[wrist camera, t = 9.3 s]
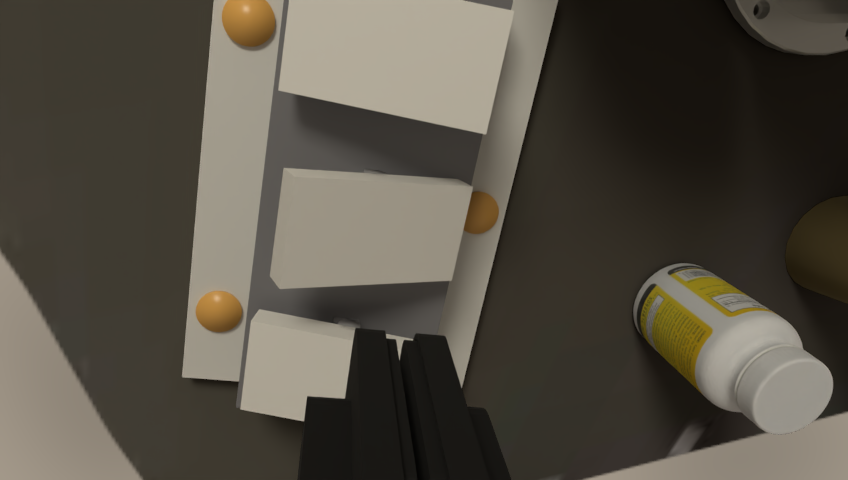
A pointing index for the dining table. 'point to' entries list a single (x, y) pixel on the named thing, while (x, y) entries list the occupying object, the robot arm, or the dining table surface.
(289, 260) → the rocker middle
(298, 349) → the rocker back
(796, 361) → the supplement bottle
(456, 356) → the switch unit
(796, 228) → the cork
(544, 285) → the dining table surface
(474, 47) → the rocker front
